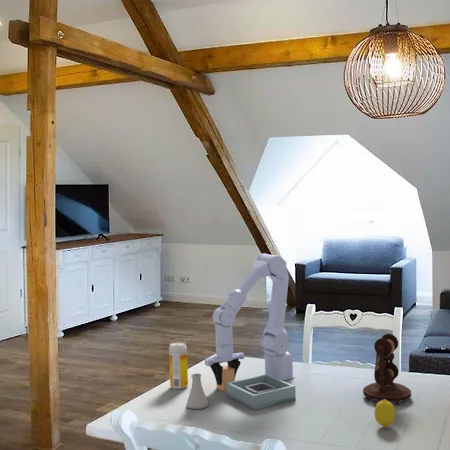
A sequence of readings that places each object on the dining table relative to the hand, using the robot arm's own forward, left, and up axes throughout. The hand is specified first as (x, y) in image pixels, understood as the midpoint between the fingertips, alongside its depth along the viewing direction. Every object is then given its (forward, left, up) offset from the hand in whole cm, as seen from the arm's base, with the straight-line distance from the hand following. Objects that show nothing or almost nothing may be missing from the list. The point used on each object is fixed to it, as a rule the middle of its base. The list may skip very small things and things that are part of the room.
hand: (225, 383), depth 221 cm
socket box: (-4, +15, -2) cm, 16 cm away
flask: (+16, +9, -2) cm, 18 cm away
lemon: (-18, +56, -2) cm, 59 cm away
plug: (0, 0, -2) cm, 2 cm away
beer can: (+12, -11, -2) cm, 16 cm away
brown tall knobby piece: (-36, +39, -2) cm, 53 cm away
